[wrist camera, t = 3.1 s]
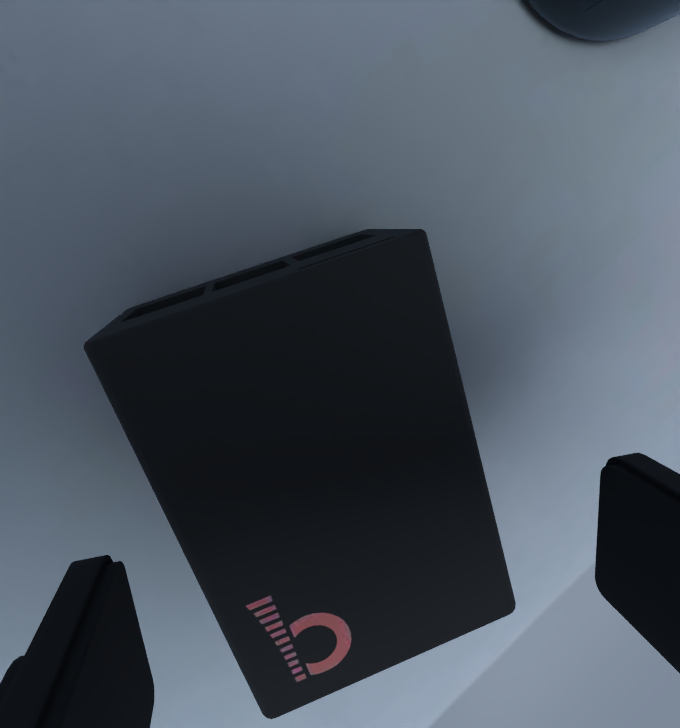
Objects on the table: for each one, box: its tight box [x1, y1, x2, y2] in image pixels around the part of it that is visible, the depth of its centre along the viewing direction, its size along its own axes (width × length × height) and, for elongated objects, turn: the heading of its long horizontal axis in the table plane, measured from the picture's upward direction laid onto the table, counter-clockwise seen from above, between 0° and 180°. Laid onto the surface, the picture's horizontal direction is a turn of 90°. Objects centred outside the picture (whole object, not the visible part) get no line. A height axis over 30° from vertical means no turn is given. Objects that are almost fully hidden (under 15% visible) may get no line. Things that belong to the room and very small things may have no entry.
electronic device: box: [84, 229, 515, 719], centre depth 14 cm, size 7×11×5 cm
